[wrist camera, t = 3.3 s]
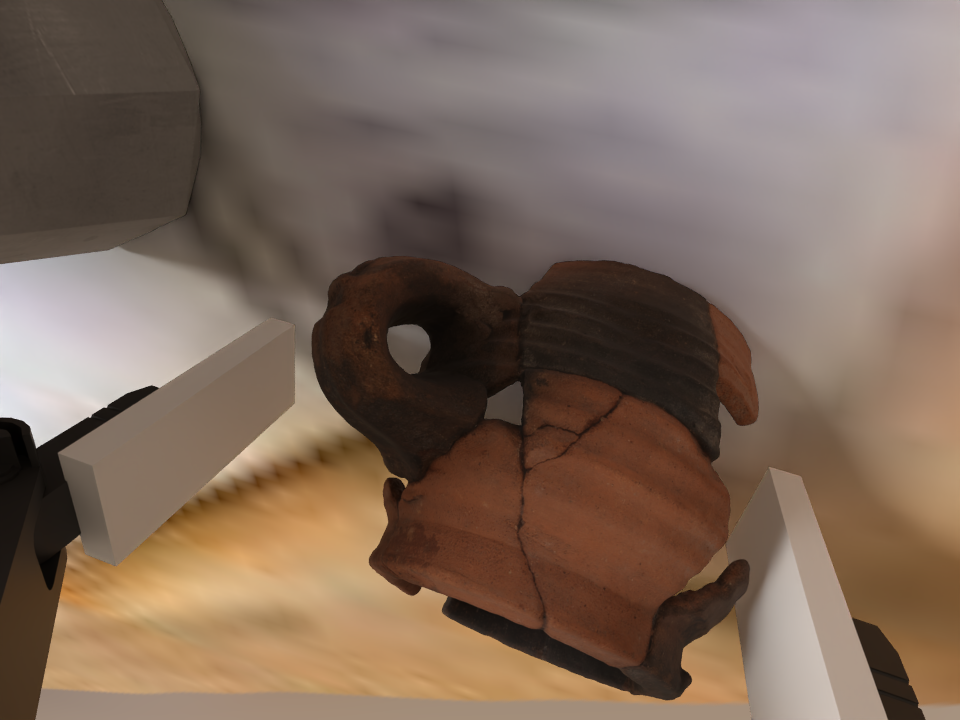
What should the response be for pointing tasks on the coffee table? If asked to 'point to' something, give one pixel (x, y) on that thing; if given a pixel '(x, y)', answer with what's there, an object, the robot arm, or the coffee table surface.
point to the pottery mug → (550, 455)
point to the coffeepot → (92, 125)
